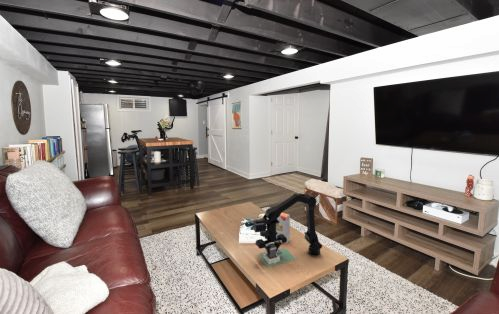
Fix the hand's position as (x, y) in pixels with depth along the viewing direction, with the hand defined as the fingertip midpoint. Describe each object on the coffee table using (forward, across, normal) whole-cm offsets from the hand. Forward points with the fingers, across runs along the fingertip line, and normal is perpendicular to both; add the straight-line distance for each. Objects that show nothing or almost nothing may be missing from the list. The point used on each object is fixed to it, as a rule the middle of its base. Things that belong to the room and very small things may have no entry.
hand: (271, 254), depth 144 cm
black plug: (+2, 0, 0) cm, 2 cm away
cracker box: (+5, -16, -19) cm, 25 cm away
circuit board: (+5, -4, -1) cm, 6 cm away
